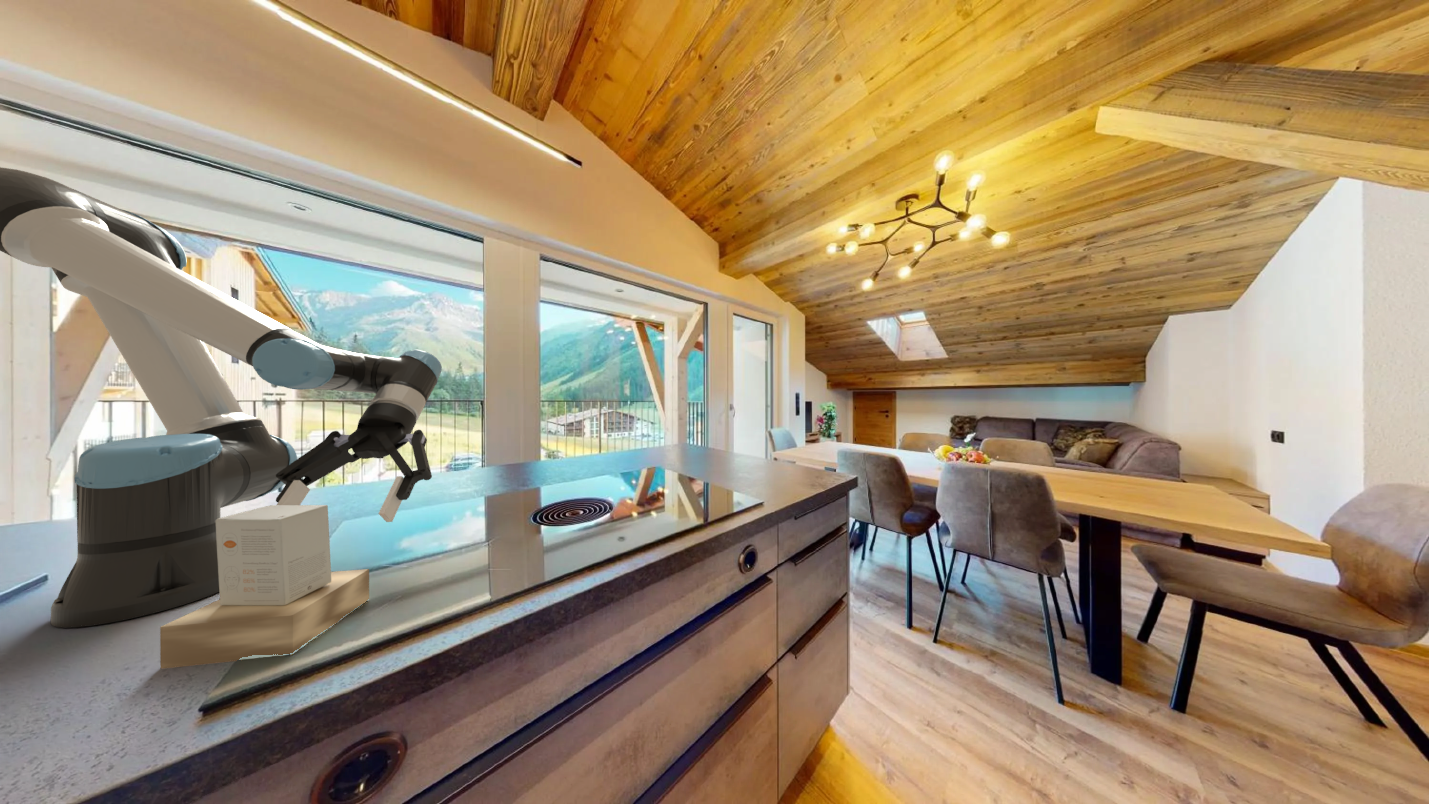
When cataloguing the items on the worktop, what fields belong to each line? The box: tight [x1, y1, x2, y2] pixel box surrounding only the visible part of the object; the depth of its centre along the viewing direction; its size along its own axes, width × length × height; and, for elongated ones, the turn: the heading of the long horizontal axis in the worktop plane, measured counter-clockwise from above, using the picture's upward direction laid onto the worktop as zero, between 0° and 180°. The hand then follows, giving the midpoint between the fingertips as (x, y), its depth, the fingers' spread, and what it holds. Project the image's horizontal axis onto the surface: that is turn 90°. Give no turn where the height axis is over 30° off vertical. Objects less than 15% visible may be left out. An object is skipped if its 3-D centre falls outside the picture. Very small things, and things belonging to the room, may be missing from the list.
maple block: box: [159, 568, 370, 670], centre depth 48 cm, size 12×12×5 cm
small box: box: [216, 504, 332, 605], centre depth 47 cm, size 8×6×10 cm
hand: (331, 521), depth 56 cm, fingers open, 13 cm apart
